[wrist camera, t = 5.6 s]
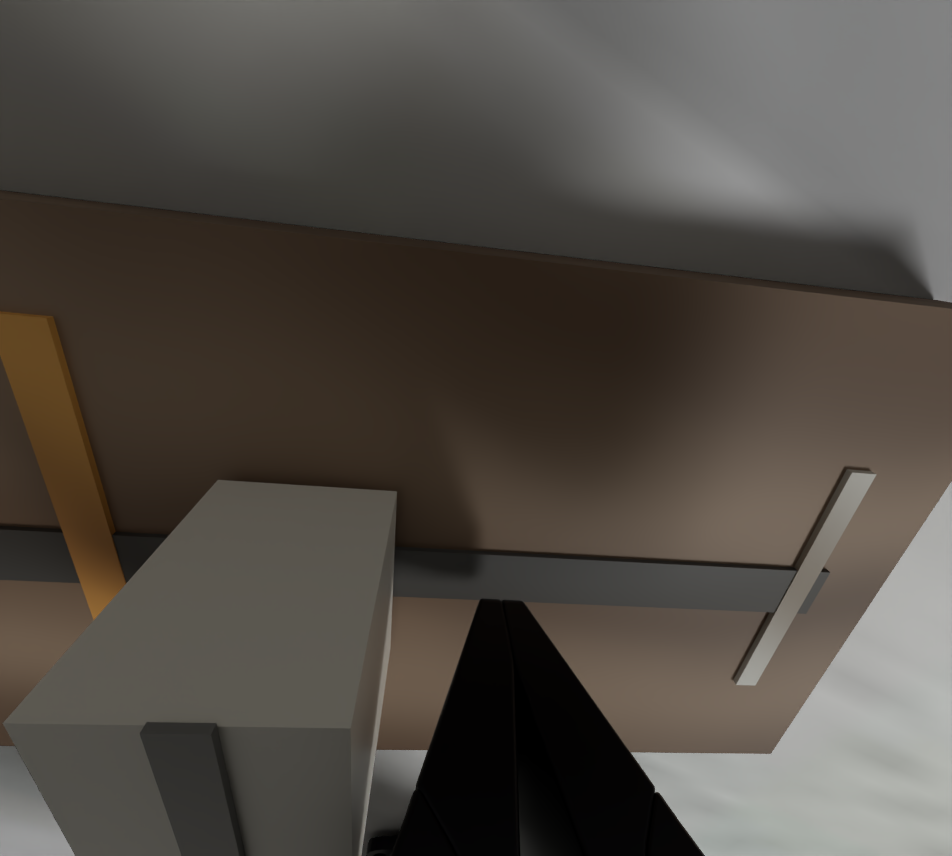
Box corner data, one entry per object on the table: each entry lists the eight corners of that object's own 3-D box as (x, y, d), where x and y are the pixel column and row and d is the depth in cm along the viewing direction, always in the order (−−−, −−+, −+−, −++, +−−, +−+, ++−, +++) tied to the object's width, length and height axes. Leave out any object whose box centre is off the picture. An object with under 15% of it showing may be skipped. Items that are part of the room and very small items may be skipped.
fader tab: (390, 650, 10) (352, 926, 6) (244, 645, 9) (106, 932, 6) (397, 489, 8) (348, 736, 4) (218, 477, 7) (-11, 732, 4)
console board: (729, 685, 14) (773, 758, 12) (-467, 654, 11) (-658, 745, 9) (937, 300, 9) (1067, 322, 7) (-1156, 54, 6) (-1898, -21, 4)
